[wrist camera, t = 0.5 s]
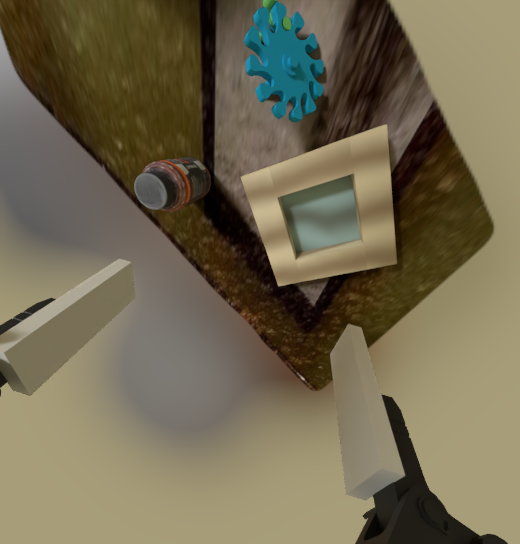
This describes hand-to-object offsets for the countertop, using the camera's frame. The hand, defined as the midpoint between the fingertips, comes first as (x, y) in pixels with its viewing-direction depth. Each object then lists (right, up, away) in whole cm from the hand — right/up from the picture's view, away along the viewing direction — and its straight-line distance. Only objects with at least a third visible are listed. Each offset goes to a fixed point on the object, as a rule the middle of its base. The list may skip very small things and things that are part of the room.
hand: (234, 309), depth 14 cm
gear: (+5, +26, +13) cm, 30 cm away
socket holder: (+11, +11, +21) cm, 26 cm away
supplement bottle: (-9, +17, +21) cm, 28 cm away
